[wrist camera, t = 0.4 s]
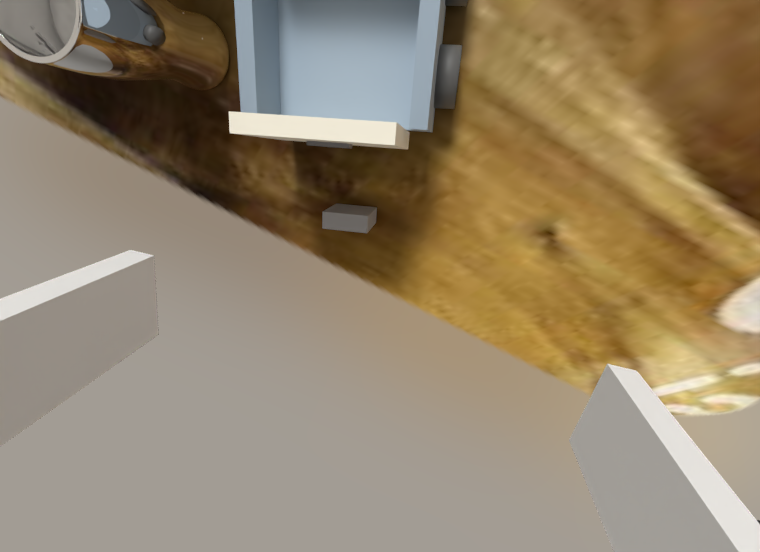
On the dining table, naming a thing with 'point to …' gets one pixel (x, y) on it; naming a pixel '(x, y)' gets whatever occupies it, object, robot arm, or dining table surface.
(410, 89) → the trailer
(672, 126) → the dining table surface
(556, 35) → the dining table surface
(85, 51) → the beer glass
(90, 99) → the dining table surface
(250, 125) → the tailgate
